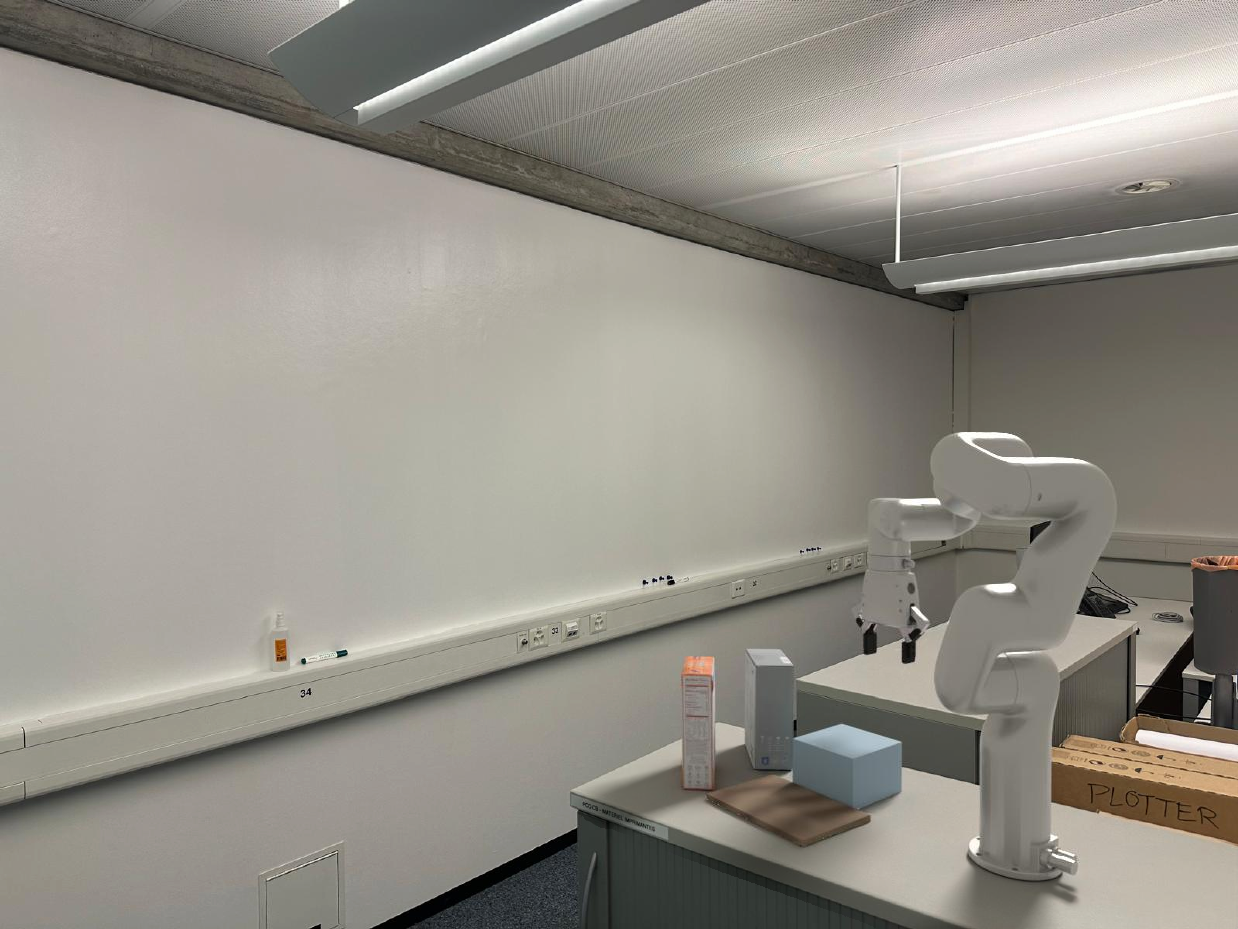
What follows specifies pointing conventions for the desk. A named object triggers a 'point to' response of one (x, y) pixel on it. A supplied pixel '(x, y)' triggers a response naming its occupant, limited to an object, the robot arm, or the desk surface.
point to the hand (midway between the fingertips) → (888, 657)
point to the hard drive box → (769, 708)
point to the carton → (848, 765)
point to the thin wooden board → (789, 809)
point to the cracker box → (698, 723)
